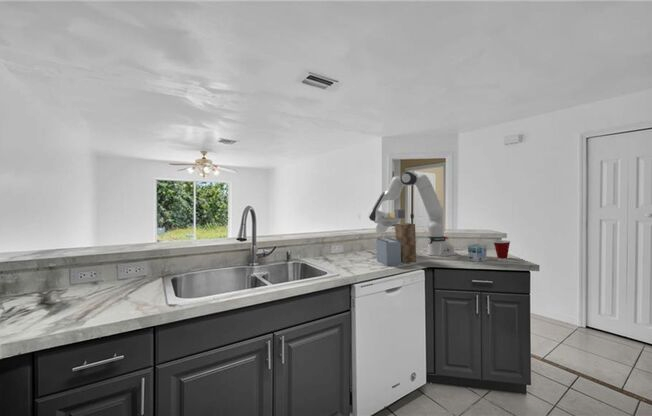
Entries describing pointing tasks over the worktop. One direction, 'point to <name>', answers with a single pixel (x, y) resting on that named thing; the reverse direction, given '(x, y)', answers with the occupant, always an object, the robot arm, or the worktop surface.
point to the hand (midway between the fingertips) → (391, 214)
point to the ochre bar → (398, 214)
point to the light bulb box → (477, 252)
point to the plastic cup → (502, 248)
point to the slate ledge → (388, 251)
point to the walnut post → (406, 241)
